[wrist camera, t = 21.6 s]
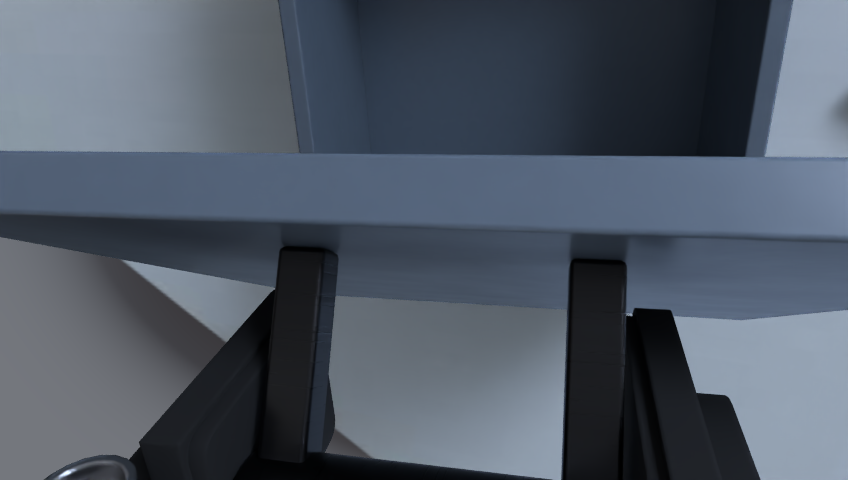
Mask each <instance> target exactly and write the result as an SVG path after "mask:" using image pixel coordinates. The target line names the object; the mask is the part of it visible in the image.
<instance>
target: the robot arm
mask: <svg viewBox="0 0 848 480" xmlns="http://www.w3.org/2000/svg"><path fill="white" fill-rule="evenodd" d="M274 296H275V290H273V291H272V292H271V293H270V294H269V295H268V296H267V297H266V298H265V300H264V301H263V302H262V303H261V304H260V305H259V306H258V307H257V309H256V310H255V311H254V312H253V313H252V314H251V315H250V317H249V318H248V319H247V320H246V321H245V322H244V323H243V325H242V326H241V327H240V328H239V329H238V330H237V331H236V332H235V334H234V335H233V336H232V337H231V338H230V339H229V340H228V342H227V343H226V344H225V345H224V346H223V347H222V348H221V349H220V351H219V352H218V353H217V354H216V355H215V356H214V358H213V359H212V360H211V361H210V362H209V363H208V364H207V365H206V367H205V368H204V369H203V370H202V371H201V372H200V373H199V375H198V376H197V377H196V378H195V379H194V380H193V381H192V383H191V384H190V385H189V386H188V387H187V388H186V389H185V390H184V392H183V393H182V394H181V395H180V396H179V397H178V398H177V400H176V401H175V402H174V403H173V404H172V405H171V406H170V407H169V409H168V410H167V411H166V412H165V413H164V414H163V415H162V417H161V418H160V419H159V420H158V421H157V422H156V423H155V425H154V426H153V427H152V428H151V429H150V430H149V431H148V432H147V434H146V435H145V436H144V437H143V438H142V439H141V440H140V441H139V444H140V448H139V449H138V450H137V451H136V452H135V453H134V454H133V456H132V457H131V458H130V459H129V460H128V459H127V458H123V457H120V456H117V455H99V456H94V457H90V458H84V459H82V460H79V461H77V462H74V463H71V464H69V465H66V466H65V467H63V468H61V469H59V470H58V471H56V472H54V473H53V474H51V475H49V476H48V477H47V478H46V479H44V480H234V479H235V477H236V475H237V473H238V471H239V469H240V468H241V466H242V464H243V463H244V462H245V460H246V459H247V458H248V457H249V456H250V455H251V454H252V453H253V452H254V451H256V450H258V449H259V440H260V430H261V421H262V411H263V402H264V392H265V383H266V373H267V363H268V354H269V344H270V335H271V325H272V316H273V306H274ZM334 428H335V414H334V407H333V400H332V394H331V387H330V381H329V374H328V384H327V396H326V407H325V418H324V429H323V440H322V451H321V452H322V453H325V451H326V449H327V447H328V445H329V443H330V441H331V438H332V436H333V433H334ZM623 480H760V477H759V475H758V472H757V469H756V467H755V464H754V461H753V459H752V456H751V453H750V451H749V448H748V445H747V443H746V440H745V437H744V435H743V432H742V429H741V427H740V424H739V421H738V419H737V416H736V413H735V411H734V408H733V405H732V403H731V401H730V399H729V398H728V397H727V396H725V395H715V394H702V393H696V390H695V387H694V384H693V380H692V377H691V374H690V370H689V367H688V364H687V360H686V357H685V354H684V351H683V347H682V344H681V341H680V337H679V334H678V331H677V327H676V324H675V321H674V317H673V314H672V311H671V310H669V309H649V308H634V310H633V316H626V353H625V401H624V448H623Z"/></svg>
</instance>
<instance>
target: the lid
mask: <svg viewBox="0 0 848 480" xmlns="http://www.w3.org/2000/svg"><path fill="white" fill-rule="evenodd" d="M0 237H3V238H8V239H14V240H19V241H25V242H30V243H35V244H41V245H47V246H52V247H58V248H63V249H68V250H73V251H79V252H84V253H90V254H95V255H101V256H106V257H112V258H117V259H123V260H128V261H133V262H139V263H144V264H150V265H155V266H161V267H166V268H172V269H177V270H182V271H188V272H193V273H199V274H204V275H210V276H215V277H221V278H226V279H231V280H237V281H242V282H248V283H253V284H259V285H264V286H270V287H275V296H274V306H273V316H272V325H271V335H270V344H269V354H268V363H267V373H266V383H265V392H264V402H263V411H262V421H261V430H260V440H259V449H258V450H256V451H254V452H253V453H252V454H251V455H250V456H249V457H248V458H247V459H246V460H245V462H244V463H243V464H242V466H241V468H240V469H239V471H238V473H237V475H236V477H235V479H234V480H551V479H542V478H534V477H525V476H517V475H508V474H500V473H491V472H483V471H474V470H466V469H457V468H449V467H440V466H432V465H423V464H415V463H406V462H398V461H389V460H381V459H372V458H364V457H356V456H347V455H339V454H330V453H322V452H321V451H322V440H323V429H324V418H325V407H326V396H327V384H328V373H329V362H330V351H331V340H332V329H333V318H334V307H335V296H348V297H365V298H382V299H398V300H415V301H432V302H448V303H465V304H482V305H498V306H515V307H532V308H549V309H565V310H567V331H566V360H565V388H564V417H563V446H562V474H561V480H623V448H624V401H625V353H626V313H632V314H633V310H634V308H649V309H669V310H671V311H672V314H673V316H682V317H699V318H716V319H732V320H747V319H757V318H768V317H778V316H788V315H799V314H809V313H819V312H830V311H840V310H848V158H829V157H701V156H574V155H447V154H320V153H192V152H65V151H0Z"/></svg>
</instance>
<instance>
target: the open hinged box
mask: <svg viewBox="0 0 848 480" xmlns="http://www.w3.org/2000/svg"><path fill="white" fill-rule="evenodd" d="M278 3H279V10H280V17H281V24H282V31H283V38H284V45H285V52H286V59H287V66H288V74H289V81H290V88H291V95H292V102H293V109H294V116H295V123H296V130H297V137H298V144H299V152H300V153H320V154H447V155H574V156H701V157H765V154H766V148H767V143H768V137H769V132H770V126H771V120H772V115H773V109H774V104H775V98H776V93H777V87H778V82H779V76H780V71H781V65H782V60H783V54H784V49H785V43H786V38H787V32H788V26H789V21H790V15H791V10H792V4H793V0H278Z"/></svg>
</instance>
